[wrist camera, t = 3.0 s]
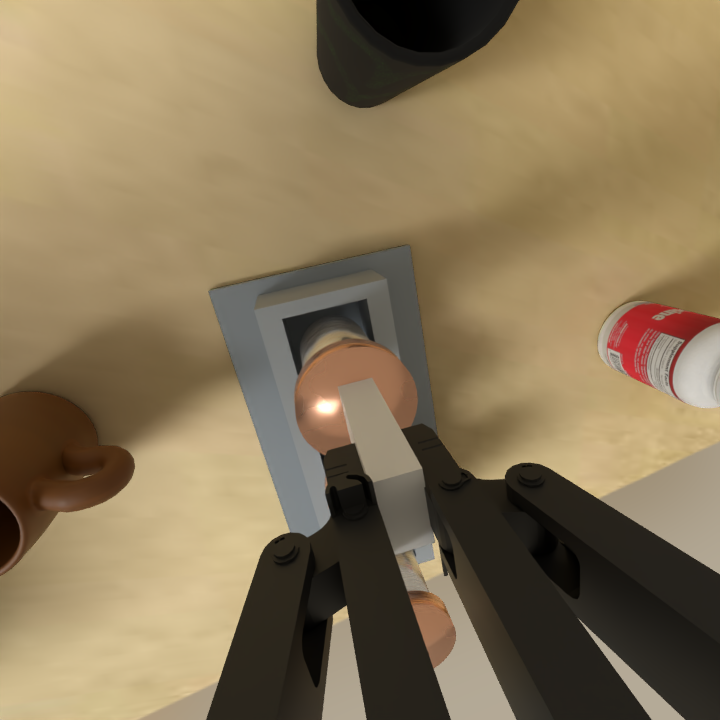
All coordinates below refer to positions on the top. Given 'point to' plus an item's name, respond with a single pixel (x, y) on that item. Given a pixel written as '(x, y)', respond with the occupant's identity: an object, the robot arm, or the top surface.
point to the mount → (283, 361)
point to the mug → (50, 468)
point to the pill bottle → (665, 350)
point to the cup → (398, 42)
